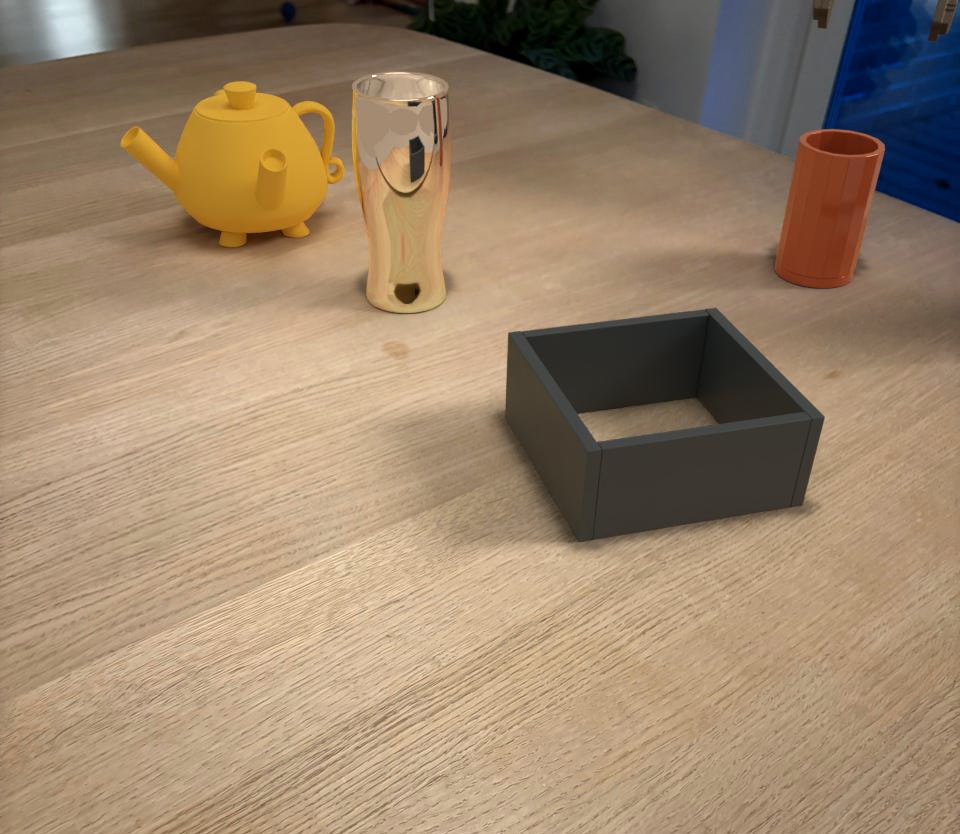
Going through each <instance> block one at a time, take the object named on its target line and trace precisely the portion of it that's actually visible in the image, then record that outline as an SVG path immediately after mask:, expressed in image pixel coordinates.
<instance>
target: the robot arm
mask: <svg viewBox="0 0 960 834" xmlns="http://www.w3.org/2000/svg"><path fill="white" fill-rule="evenodd" d="M835 1H836V0H813V2H812V19H813V20H814V21H817V29H825V30H827V29H828V25H829V22H830V18H831V15H832V11H833V8H834V4H835ZM958 2H959V0H938V1H937V4H936V7H935V10H934V14H933V18H932V20H931V25H930V29H929V34H928V37H927V42H932V43H938V40H939V39H938V38H939V36H940V35H941V36H946V35H947V34H948V33H949V31H950V30H951V27H952V24H953V20H954V17H955V13H956V9H957V6H958Z"/></svg>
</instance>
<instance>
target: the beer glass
mask: <svg viewBox="0 0 960 834" xmlns="http://www.w3.org/2000/svg"><path fill="white" fill-rule="evenodd" d="M449 87H450V85H449V83H448V81H445V80H444V79H443V78H442V77H438V76H436V75H433V74H430V73H429V74H428V73H424V72H416V71H384V72H377V73H371V74H368V75H364V76H362V77H358V79H355V80H354V81H353V83H352V84H351V91H352V93H351V95H352V96H351V97H352V99H351V152H352V153H351V154H352V164H353V172H354V178H355V184H356V189H357V194H358V199H359V205H360V208H361V212H362V217H363V221H364V227H365V230H366V236H367V240H368V241H367V243H368V251H369V253H368V254H369V261H368V263H369V264H368V273H367V280H366V289H365V296H366V299H367V301H368V303H369V304H371V305H372V306H373V307H375V308H377V309H380V310H381V311H385V312H389V313H396V314H416V313H422V312H426V311H427V312H428V311H430V310H432V309H435V308H437V307H438V306H440V305H441V304H442V303H443V302H444V301H445V299H446V297H447V296H446V295H447V290H446V283H445V277H444V273H443V267H442V257H441V255H442V254H441V248H442V247H441V245H442V234H443V228H444V221H445V215H446V209H447V203H448V198H449V191H450V184H451V177H452V176H451V175H452V162H453V161H452V157H453V139H452V120H451V108H450V92H449V89H450V88H449Z"/></svg>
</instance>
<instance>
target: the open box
mask: <svg viewBox="0 0 960 834" xmlns="http://www.w3.org/2000/svg"><path fill="white" fill-rule="evenodd" d="M506 353H507V355H506V356H507V357H506V378H505V379H506V381H505V383H506V384H505V405H504V406H505V409H504V410H505V411H504V418H505V420H506V421H507V424H508V425H509V427H510V428H511V430H512V432H513V433H514V435H515V437H516V439H517V440H518V442H519V444H520V445H521V447H522V449H523V451H524V452H525V454H526V455H527V457H528V460H529V461H530V462H531V464H532V466H533V467H534V469H535V470H536V473H537V474H538V476H539V477H540V479H541V481H542V482H543V484H544V486H545V488H546V490H547V491H548V493H549V494H550V496H551V498H552V500H553V501H554V503H555V504H556V507H557V509H559V511H560V513H561V515H562V517H563V519H564V520H565V522H566V523H567V525H568V526H569V528H570V531H572V533H573V535H574V537H575V538H576V540H577V542H578V543H583V542H584V543H585V542H589V541H595V540H596V541H597V540H601V539H607V538H614V537H620V536H625V535H631V534H639V533H644V532H650V531H655V530H657V531H658V530H662V529H668V528H674V527H680V526H681V527H682V526H686V525H692V524H699V523H704V522H711V521H717V520H723V519H728V518H734V517H735V518H736V517H742V516H746V515H747V516H748V515H754V514H760V513H766V512H772V511H777V510H783V509H789V508H795V507H801V506H803V505H804V502H805V497H806V493H807V491H808V485H809V482H810V477H811V473H812V470H813V466H814V462H815V458H816V453H817V450H818V446H819V442H820V439H821V435H822V430H823V426H824V422H825V418H826V417H825V415H824V414H823V413H822V412H821V411H820V410H819V409H818V408H817V407H816V406H815V405H814V404H813V403H812V402H811V401H810V400H809V399H808V398H807V396H805V395H804V394H803V393H802V392H801V391H800V390H799V389H798V388H797V387H796V386H795V385H794V384H793V383H792V382H791V381H790V380H789V379H788V378H787V377H786V376H785V375H784V374H783V373H782V372H781V371H780V370H779V368H777V367H776V366H775V365H774V364H773V363H772V362H771V361H770V360H769V359H768V358H767V357H766V356H765V355H764V354H763V353H762V352H761V351H760V350H759V349H758V348H757V347H756V346H755V345H754V343H752V342H751V341H750V340H749V339H748V338H747V337H746V336H745V335H744V334H743V333H742V332H741V331H740V330H739V328H738V327H736V326H735V325H734V324H733V323H732V322H731V321H730V320H729V319H728V318H727V317H726V316H725V315H724V314H723V312H721V311H720V310H719V309H718V308H717V307H711V308H705V309H703V308H702V309H696V310H687V311H679V312H670V313H669V312H668V313H661V314H655V315H645V316H637V317H636V316H635V317H629V318H628V317H627V318H620V319H612V320H604V321H603V320H602V321H595V322H594V321H593V322H586V323H578V324H570V325H569V324H568V325H562V326H554V327H545V328H536V329H535V328H534V329H528V330H516V331H508V333H507V352H506ZM687 399H688V400H689V399H697V400H698V401H699V403H700V404H701V405H702V406H703V407H704V409H706V411H707V412H708V413H709V414H710V416H712V417H713V419H714V420H715V421H716V422H717V424H713V425H712V424H711V425H704V426H697V427H691V428H683V429H676V430H669V431H662V432H655V433H648V434H642V435H635V436H627V437H622V438H615V439H614V438H613V439H608V440H607V439H606V440H600V441H599V440H598V441H597V440H596V438H595V437H594V436H593V435H592V433H591V432H590V430H589V429H588V427H587V426H586V425H585V423H584V421H583V420H582V418H581V417H580V415H579V414H587V413H594V412H599V411H600V412H602V411H609V410H615V409H623V408H630V407H638V406H646V405H652V404H659V403H660V404H661V403H667V402H674V401H680V400H687Z"/></svg>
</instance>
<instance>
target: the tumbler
mask: <svg viewBox="0 0 960 834" xmlns="http://www.w3.org/2000/svg"><path fill="white" fill-rule="evenodd" d="M885 152H886V145H885V143H883V142H882V141H881V140H880V139H879V138H877V137H874V136H872V135H870V134H866V133H863V132H860V131H859V132H858V131H854V130H849V129H838V128H837V129H835V128H829V129H828V128H827V129H826V128H825V129H824V128H823V129H822V128H821V129H816V130H811V131H806V132H805V133H803V134H801V135H800V136H799V139H798V145H797V150H796V154H795V160H794V165H793V170H792V174H791V180H790V184H789V190H788V194H787V195H788V196H787V199H786V205H785V209H784V215H783V220H782V225H781V232H780V235H779V241H778V244H777V245H778V246H777V250H776V255H775V260H774V261H775V262H774V272H775V273H776V274H777V276H778V277H780V278H782V279H783V280H785V281H787V282H789V283H792V284H794V285H798V286H802V287H807V288H814V289H833V288H839V287H842V286H845V285H847V284H849V283H850V282H851V281H852V280H853V277H854V273H855V270H856V267H857V264H858V260H859V255H860V252H861V247H862V243H863V240H864V236H865V231H866V228H867V224H868V219H869V216H870V211H871V207H872V205H873V204H872V203H873V200H874V195H875V192H876V188H877V183H878V179H879V175H880V171H881V168H882V163H883V159H884V156H885Z"/></svg>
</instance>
